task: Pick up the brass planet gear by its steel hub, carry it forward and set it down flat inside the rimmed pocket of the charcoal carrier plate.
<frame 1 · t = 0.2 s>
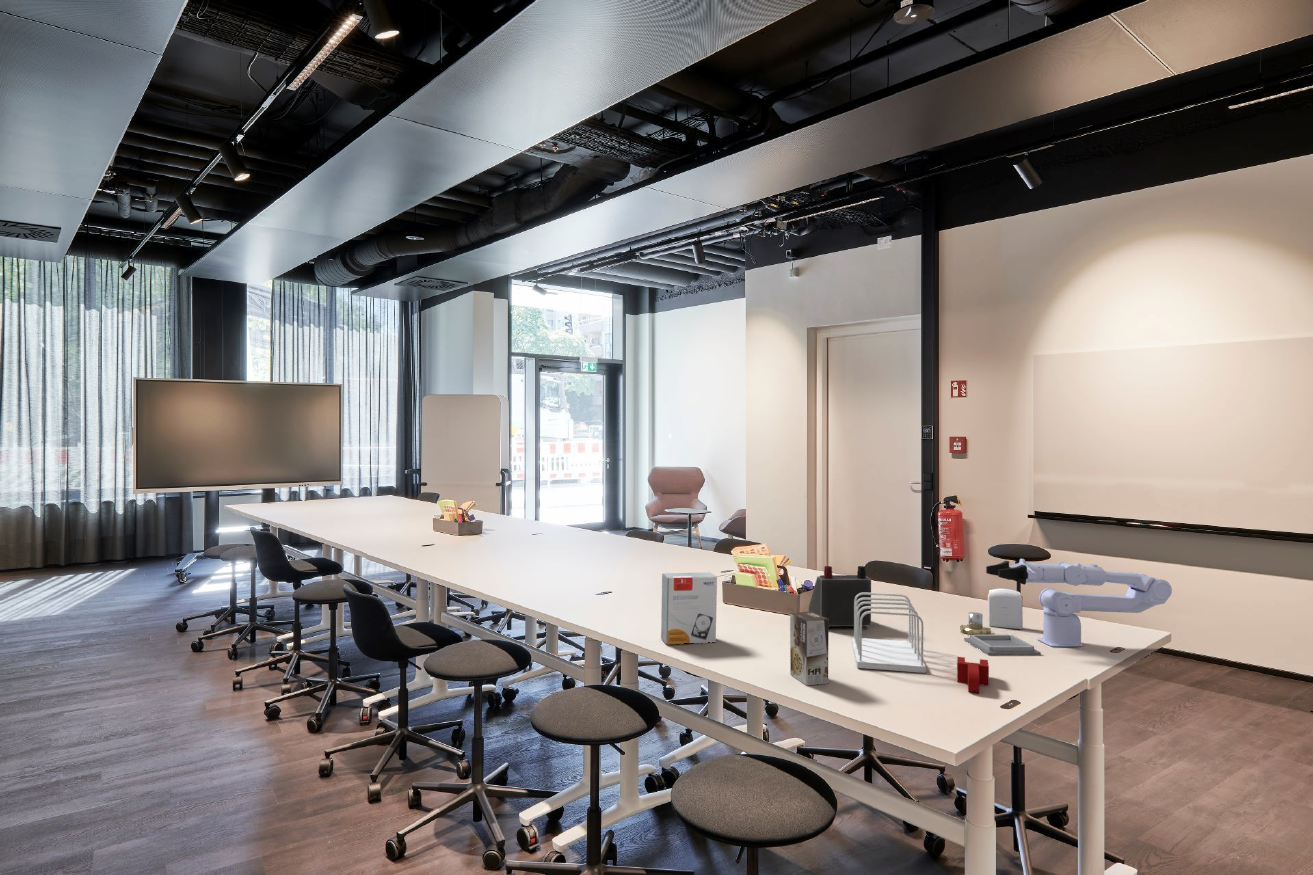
hand: (992, 571, 216), 21 cm above the table, tool horizontal, fingers open, 7 cm apart
file sorter: (886, 658, 202), on the table
voltmeter: (838, 624, 239), on the table
mechanical linkage: (972, 685, 180), on the table
coffee box: (809, 679, 183), on the table
photo printer: (1004, 627, 235), on the table
planet gear: (975, 632, 228), on the table
carrier plate: (1001, 647, 212), on the table
hard drive box: (688, 641, 218), on the table
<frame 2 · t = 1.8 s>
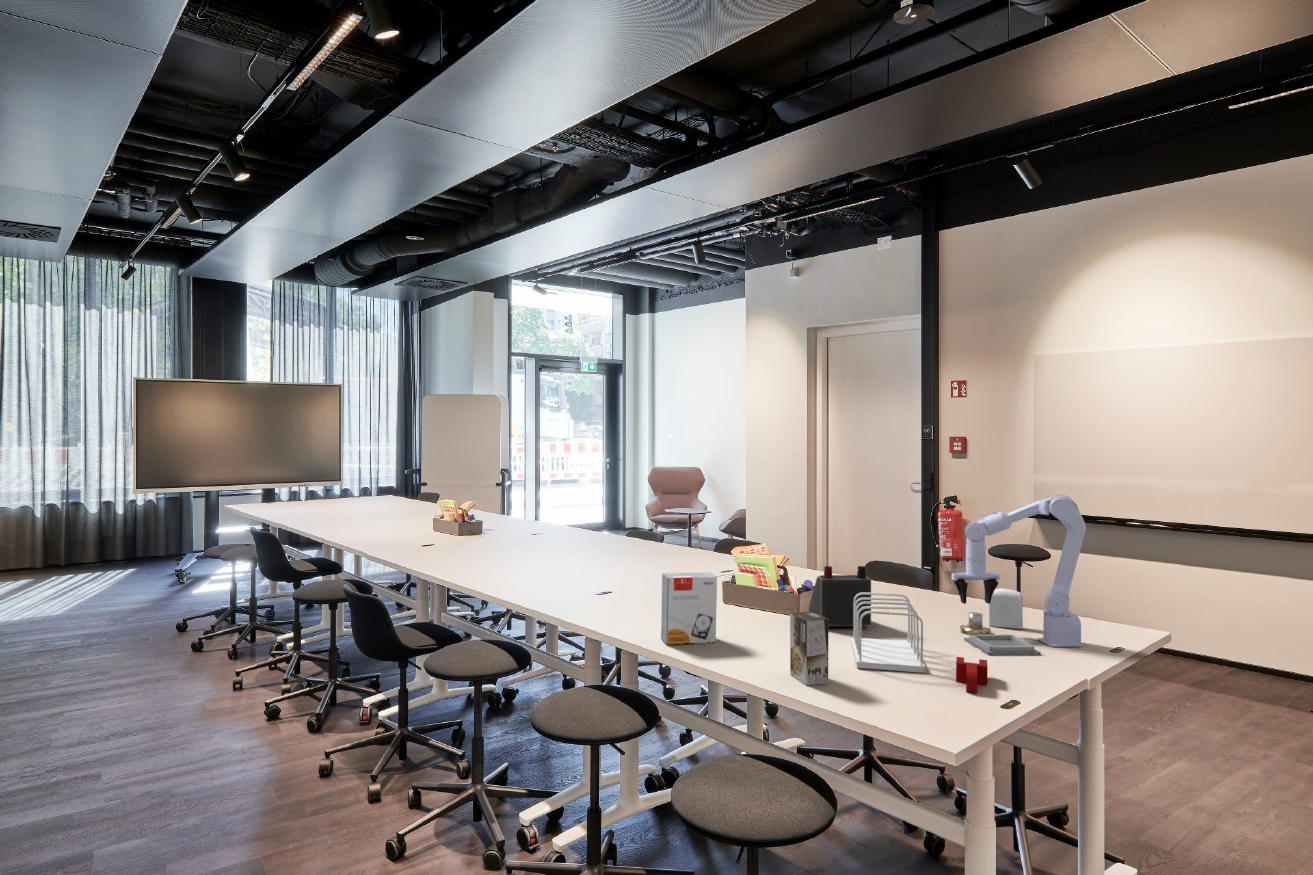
hand: (975, 602, 228), 9 cm above the table, tool pointing down, fingers open, 7 cm apart
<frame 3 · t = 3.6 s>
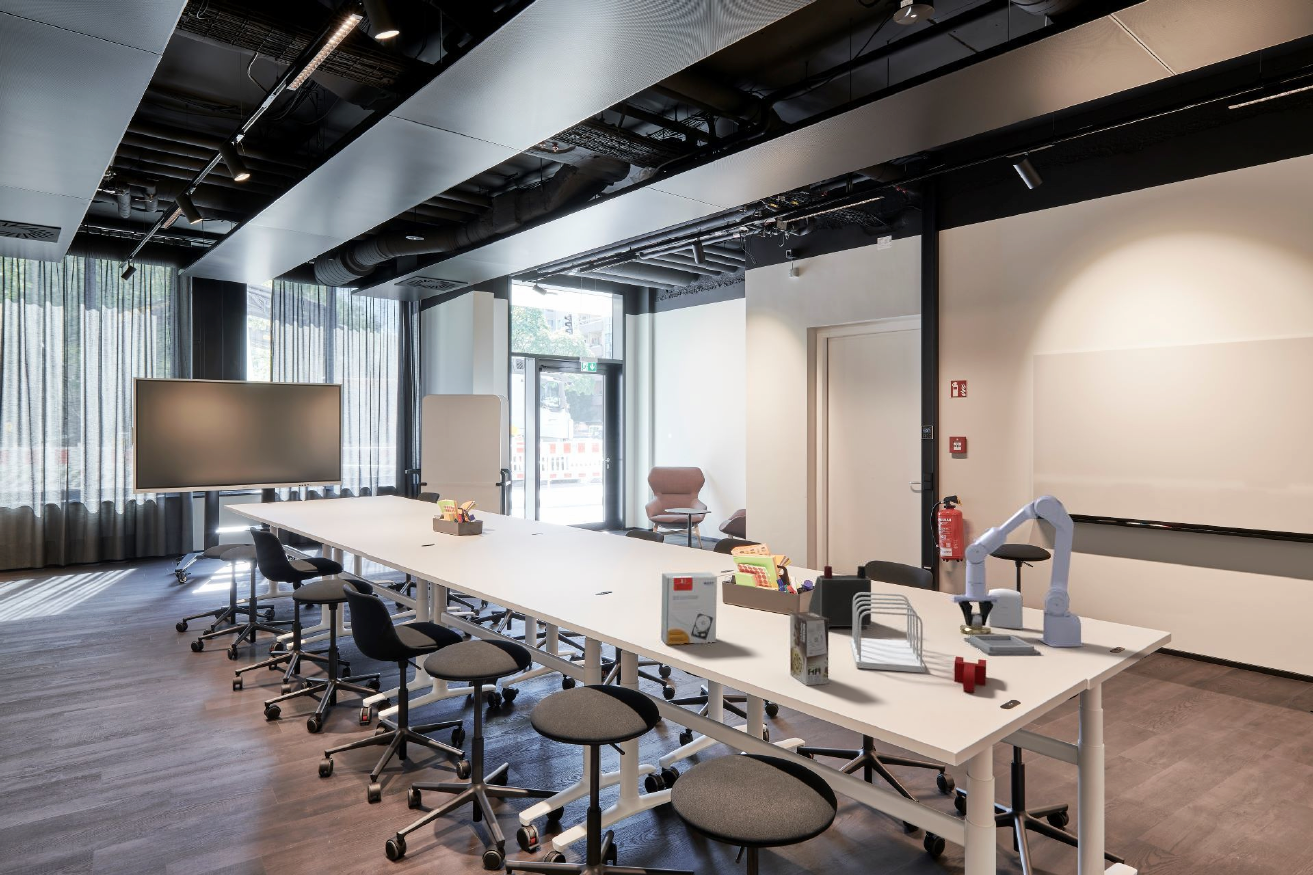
hand: (975, 625, 228), 2 cm above the table, tool pointing down, fingers closed on planet gear, 4 cm apart
planet gear: (975, 632, 228), on the table, touching gripper
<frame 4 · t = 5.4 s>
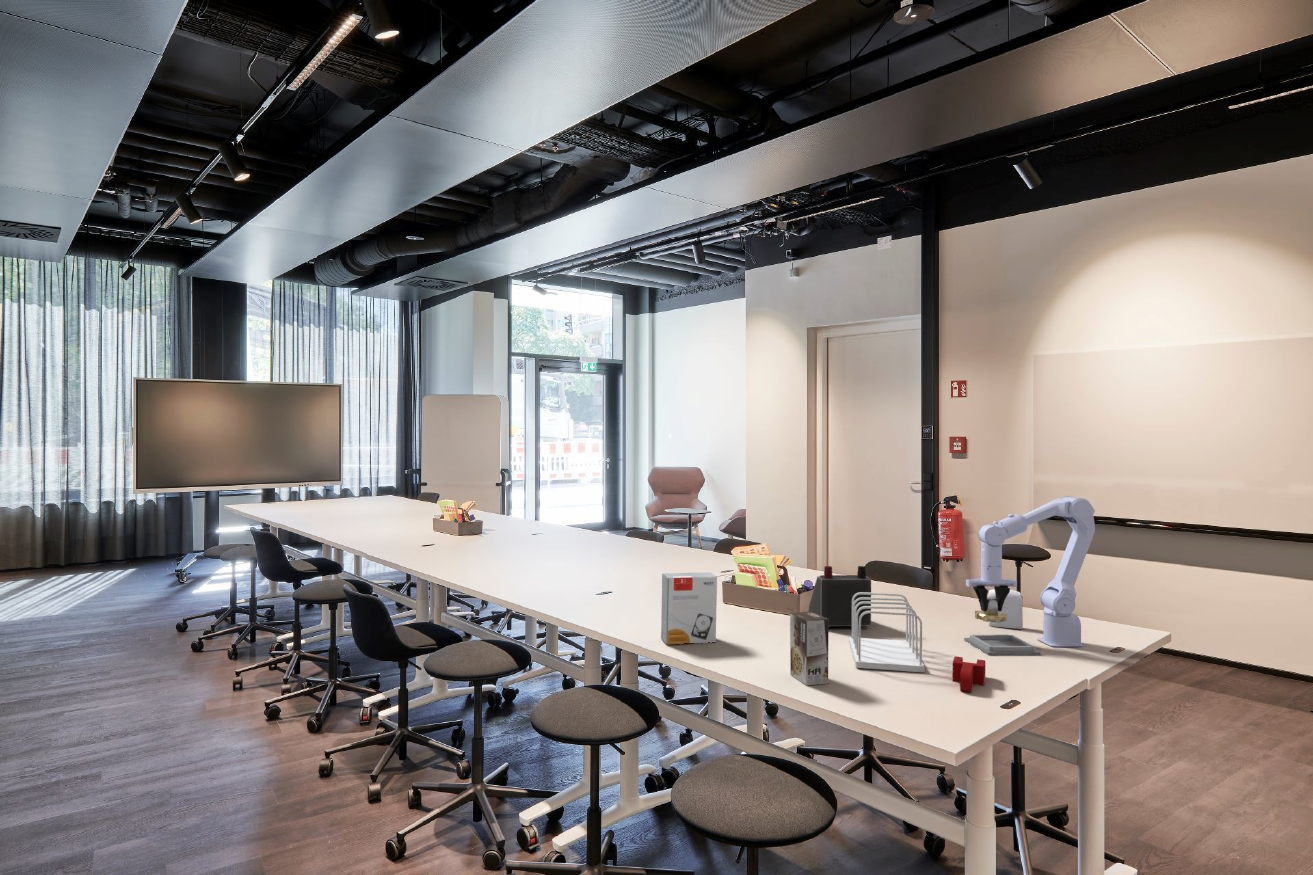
hand: (991, 610, 218), 9 cm above the table, tool pointing down, fingers closed on planet gear, 4 cm apart
planet gear: (990, 618, 218), point 7 cm above the table, touching gripper
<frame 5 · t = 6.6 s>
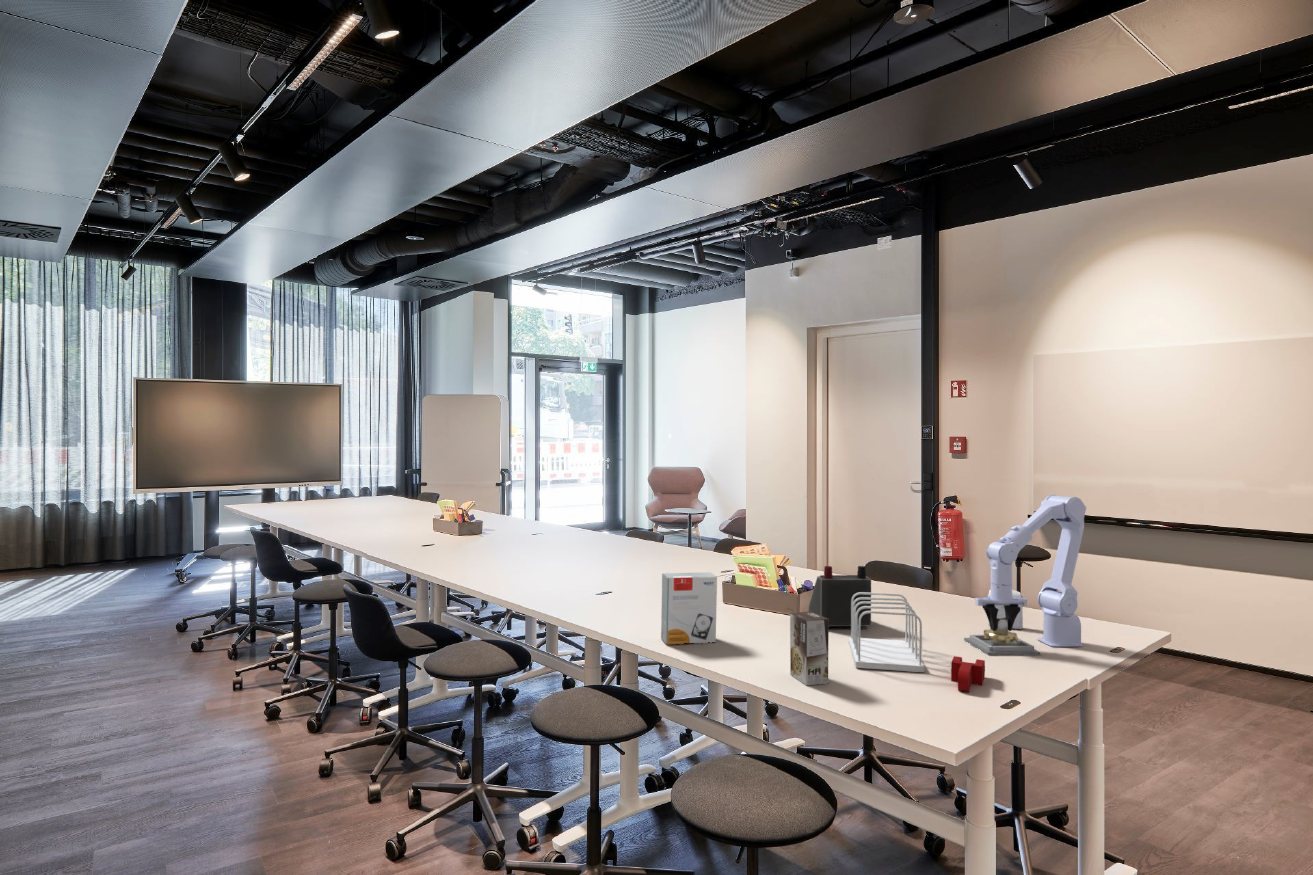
hand: (1001, 630, 212), 5 cm above the table, tool pointing down, fingers closed on planet gear, 4 cm apart
planet gear: (1000, 638, 212), point 3 cm above the table, touching gripper
when the fingers open (4 cm above the table, at t = 7.6 s): planet gear stays where it is, resting on carrier plate.
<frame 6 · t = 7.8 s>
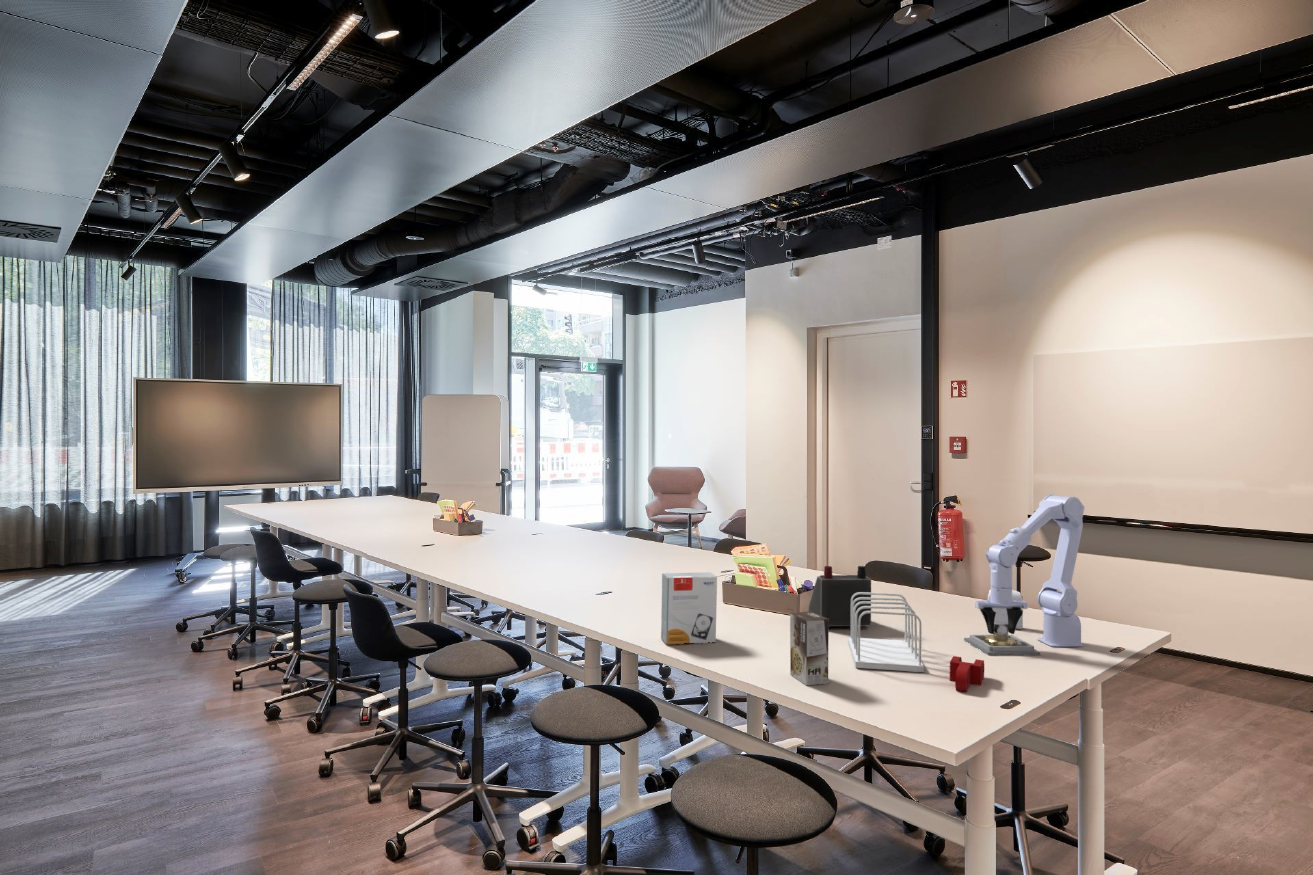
hand: (1001, 633, 212), 4 cm above the table, tool pointing down, fingers open, 5 cm apart
planet gear: (1000, 644, 212), point 1 cm above the table, touching carrier plate
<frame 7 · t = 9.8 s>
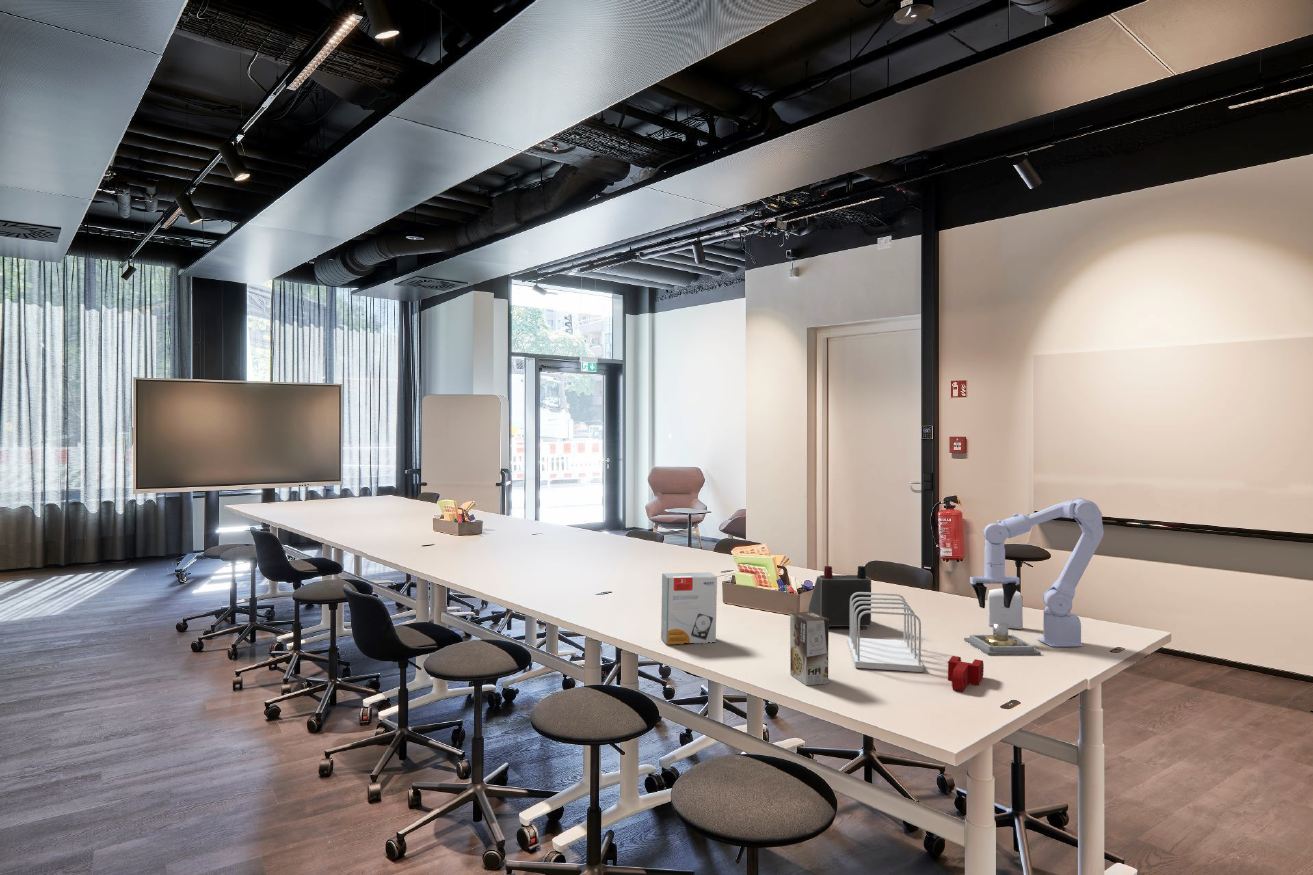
hand: (994, 607, 222), 9 cm above the table, tool pointing down, fingers open, 7 cm apart
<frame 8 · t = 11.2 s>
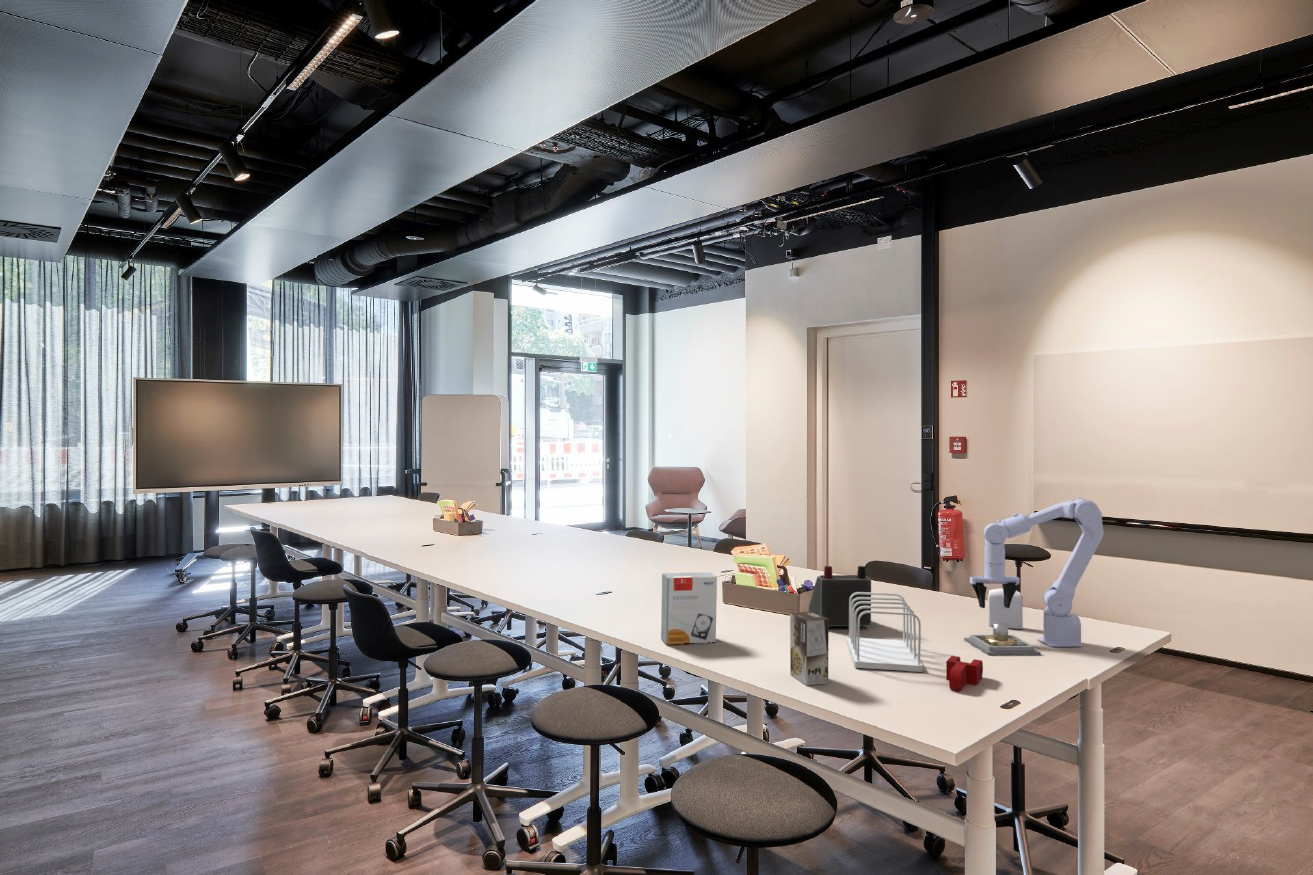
hand: (994, 607, 222), 9 cm above the table, tool pointing down, fingers open, 7 cm apart
at the end: planet gear 0.3 cm off-centre on the carrier plate, point 0.8 cm above the carrier plate's base; planet gear tilted 0°; the gripper is holding nothing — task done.
